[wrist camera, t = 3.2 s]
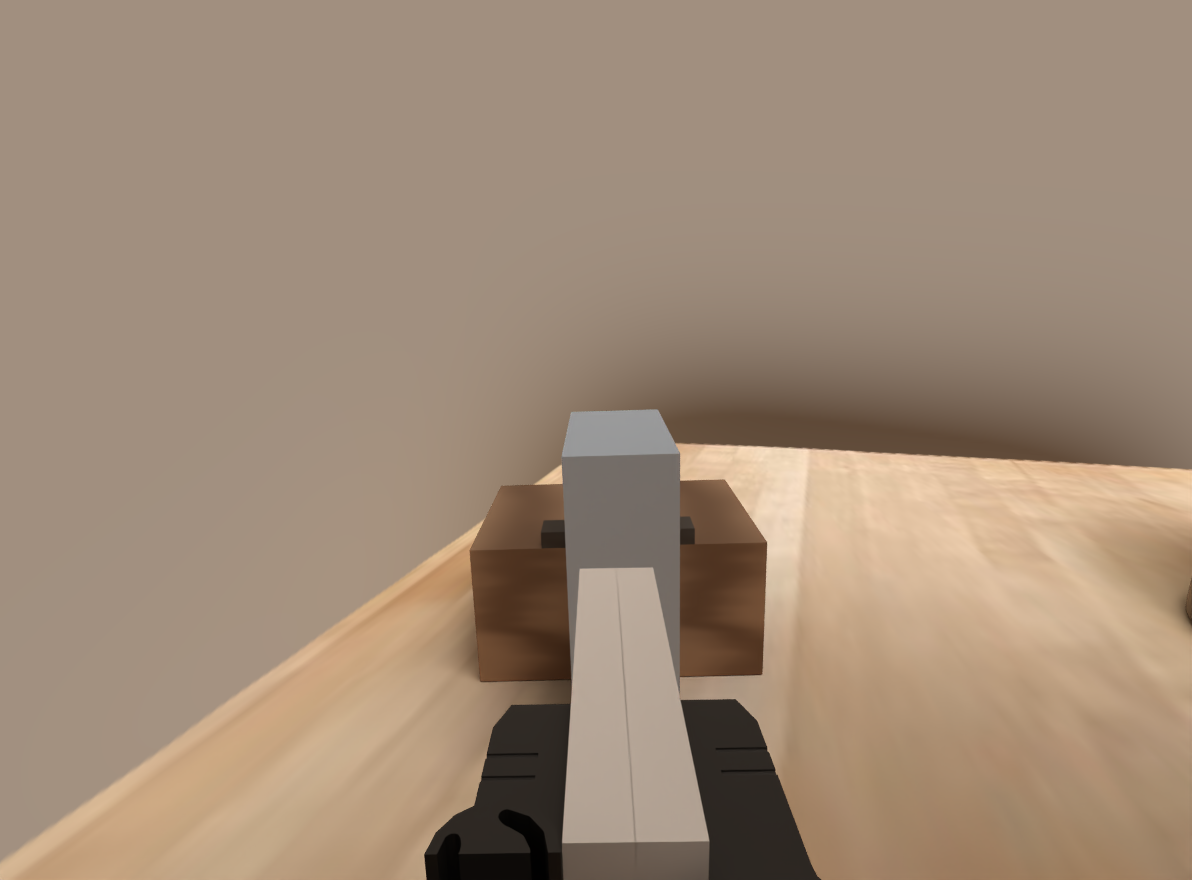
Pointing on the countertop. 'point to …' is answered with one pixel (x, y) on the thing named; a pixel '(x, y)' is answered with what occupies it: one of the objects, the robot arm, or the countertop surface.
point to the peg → (623, 506)
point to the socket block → (540, 596)
